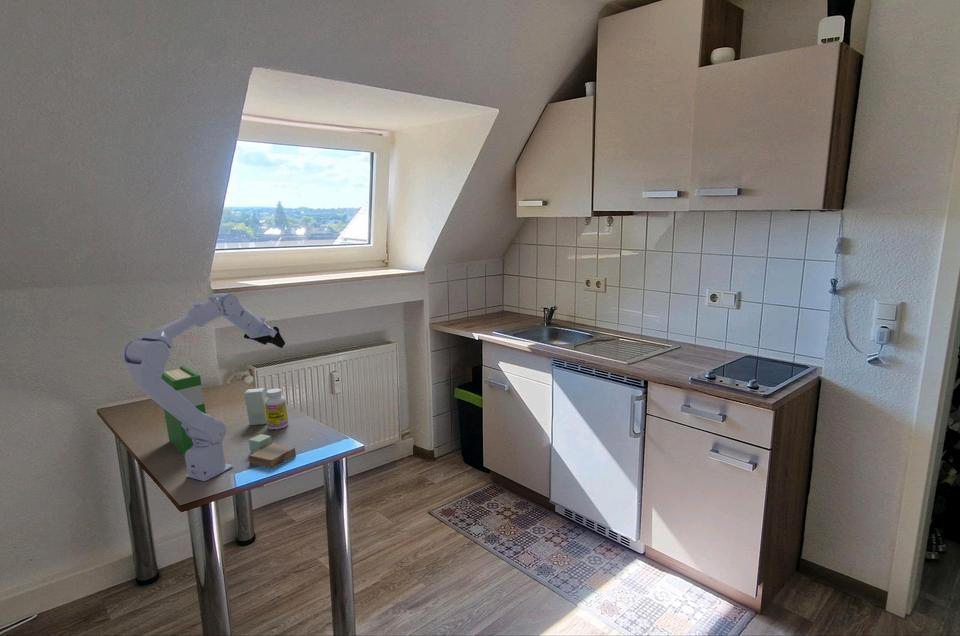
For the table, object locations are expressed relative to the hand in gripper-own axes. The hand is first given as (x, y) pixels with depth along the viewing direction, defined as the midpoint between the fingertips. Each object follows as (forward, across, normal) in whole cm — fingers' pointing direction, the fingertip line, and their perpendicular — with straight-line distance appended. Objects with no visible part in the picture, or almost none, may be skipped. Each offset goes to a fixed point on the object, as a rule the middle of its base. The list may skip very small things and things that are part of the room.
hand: (274, 343), depth 175 cm
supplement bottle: (+25, +7, +20) cm, 32 cm away
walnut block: (+10, -14, +32) cm, 36 cm away
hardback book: (+8, +21, +36) cm, 43 cm away
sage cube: (+12, -5, +31) cm, 33 cm away
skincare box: (+24, +16, +21) cm, 36 cm away
